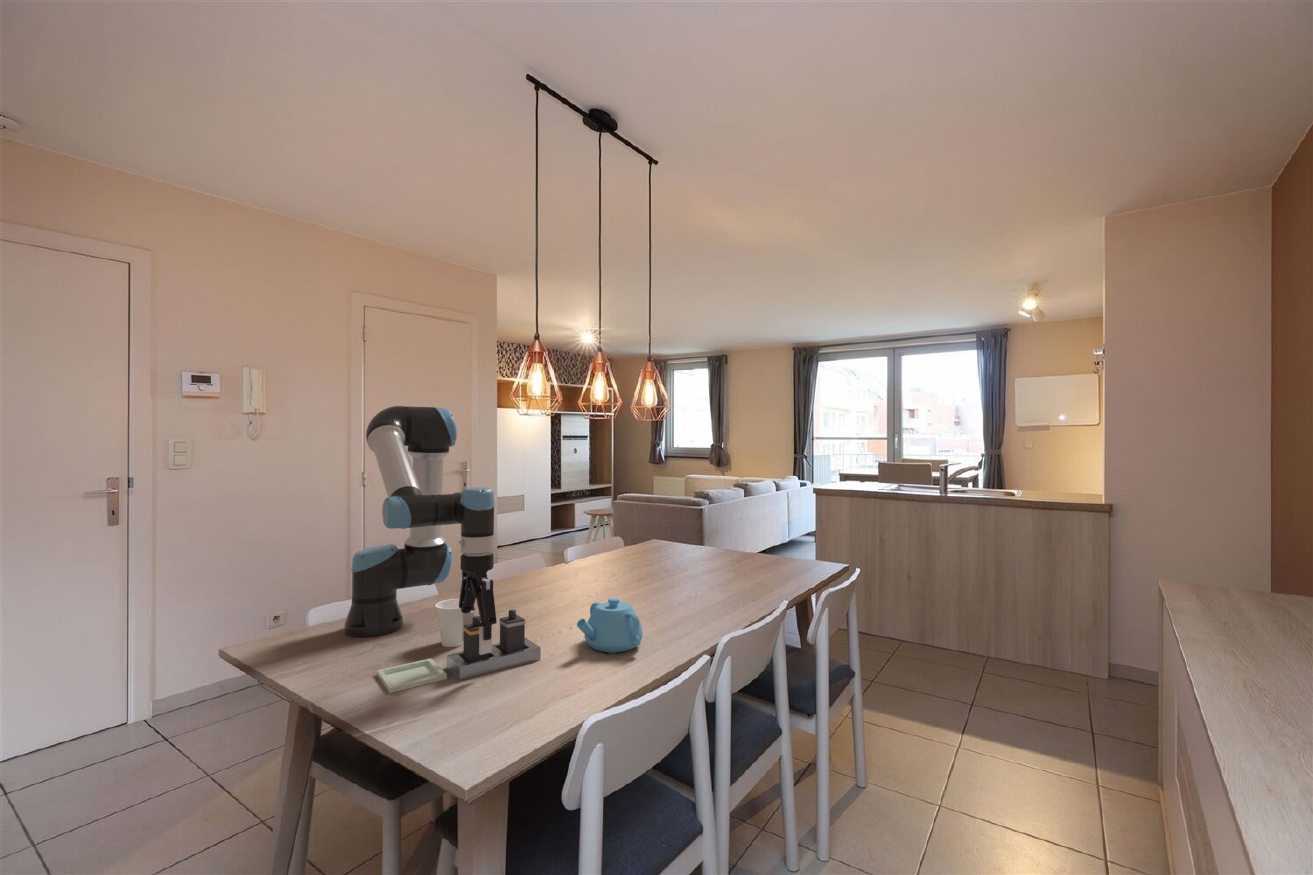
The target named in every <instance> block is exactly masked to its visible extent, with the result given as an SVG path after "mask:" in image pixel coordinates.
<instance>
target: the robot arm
mask: <svg viewBox="0 0 1313 875" xmlns="http://www.w3.org/2000/svg"><path fill="white" fill-rule="evenodd" d="M457 434H458V432H457V423H456V421H455V417H454V415H453V413H452V412H451V411H450V410H449V409H448V408H443V407H437V406H406V405H405V406H404V405H393V406H390V407H386V408H385V409H382V410H381V411H379V412H378V413H377V414H375V415H374V417H372V418H371V420H370V421H369V422H368V425H367V428H366V431H365V438H366V444H367V446H368V448H369V449H370V451H371V452H373V453H374V456H375V458H376V462H377V465H378V469H379V471H380V474H381V478H382V481H383V485H384V488H385V492H386V494H387V497H386V498H385V499H384V501H383V503H382V508H381V509H382V510H381V512H382V521H383V522H382V523H383V525H384V526H385V527H386V528H387V529H391V530H392V529H404V530H405V529H410V532H409V533H410V535H409V536H408V537H407V538H406V539H405V540H404V545H403V548H399V547H398V546H397V545H396V544H394V543H393V544H392V543H391V544H390V543H388V544H381V545H375V546H371V547H367V548H363V549H360V550H359V551H357V552H356V553H355V554H354V555H353V557H352V563H351V605H350V607H349V610H348V613H347V615H346V619H345V621H344V622H345V623H344V626H343V629H344V630H343V631H344V632H343V633H344V634H345V635H347V636H349V637H354V638H355V637H356V638H365V637H367V638H368V637H375V636H382V635H386V634H390V633H393V632H395V631H398V630H400V629H401V628H402V627H403V624H404V623H403V622H404V620H403V619H404V618H403V614H402V611H401V608H400V605H399V602H398V600H397V590H399V589H407V588H408V589H409V588H414V587H422V586H423V587H424V586H432V585H435V584H439V583H440V584H441V583H443V582H444V581H445V580H446V579H447V578H448V577H449V575H450V572H451V569H452V562H453V556H452V552H453V551H452V548H451V546H450V545H449V544H448V543H446V542H447V541H446V539H445V538H444V537H443V536H442V535H441V534H442V533H441V531H442V526H446V525H458V524H460V540H459V541H458V544H459V545H460V552H461V553H462V554H461V555H460V570H461V571H462V572H461V586H460V594H459V598H458V599H459V608H461V611H462V613H463V614H462V641H464V630H463V627H464V625H467V624H472V623H473V617H475V611H476V607H475V604H477V608H478V614H479V615H478V616H480V622H481V624H479V625H478V626H479V654H480V655H482V654H486V653H490V652H492V645H493V625H496V624H497V615H496V614H497V613H496V605H495V604H496V603H495V597H494V596H495V595H494V580H493V579H489V578H488V574H487V573H488V572H489V571H491V570H493V569H494V567H495V564H494V561H495V560H494V558H495V557H494V553H493V551H494V550H495V528H494V527H495V505H496V502H495V495H494V494H495V493H494V490H493V489H492V488H490V487H468V488H464V489H462V491H459V492H453V493H445V494H443V485H444V484H443V479H444V459H445V457H446V456H447V455H448V454H449V453H450V447H453V446H455V445H456V443H457V439H458V438H457V437H458V435H457ZM406 447H407V449H406ZM409 455H410V456H411V457H412V462H411V460H410V458H409ZM475 602H476V603H475ZM471 611H472V612H471Z"/></svg>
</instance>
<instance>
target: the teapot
mask: <svg viewBox="0 0 1313 875" xmlns="http://www.w3.org/2000/svg"><path fill="white" fill-rule="evenodd" d="M620 600H621V599H620V598H618V597H611V598H608V599H607V602H602V603H601V602H599V601H596V602H593V603H592V604H590V606H589V614H590V615H589V618H588V619H587V620H586V619H585V618H581V619H578V621H577V623H576V627H577V628H578V629H579V630H580V631H581V632H582V633H583V634H584V639H585V642H587V644H588V646H590V647H591V649H593V650H595V651H599V652H604V653H609V654H613V655H614V654H617V653H619V652H626V651H630V650H632V649H634V648H635V647H638V646H640V645H641V643H642V642H641V641H642V639H643V629H642V628H643V627H642V624H641V620H640V618H639V617H638V615H637V613H636V611H635V610H634V608H633V607H632V606H631V604H629V603H627V602H624V601H620Z"/></svg>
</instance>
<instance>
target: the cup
mask: <svg viewBox="0 0 1313 875" xmlns="http://www.w3.org/2000/svg"><path fill="white" fill-rule="evenodd" d="M459 599H460V598H450V599H449V598H448V599H444V600H440V601H438V602H436V604H435V605H434V607H435V610H436V617H437V622H438V623H437V624H438V629H439V635H440V641H441V642H440V643H441V646H442V647H444V648H455V647H456V648H457V647H461V646H464V641H462V614H463V613H462V611H461V608H459ZM471 612H473V611H471Z"/></svg>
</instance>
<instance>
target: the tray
mask: <svg viewBox="0 0 1313 875" xmlns="http://www.w3.org/2000/svg"><path fill="white" fill-rule="evenodd" d="M376 675H377V677H378V679H379V680H380V681H381V683H382V684H383V685H384V687H385V688H386V690H387V691H388V693H389V694H392V693H396V692H401V691H404V690H409V689H412V688H417V687H421V686H425V685H428V684H433V683H437V682H440V681H445V680H448V674H447V673H446V672H445V670H444V669H442V668H441V666H440V665H438V664H437V662H435V661H434V660H433V659H432V658H431V657H430V658H426V659H422V660H416V661H413V662H408V663H403V664H398V665H395V666H391V667H386V668H382V669H377V670H376Z"/></svg>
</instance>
